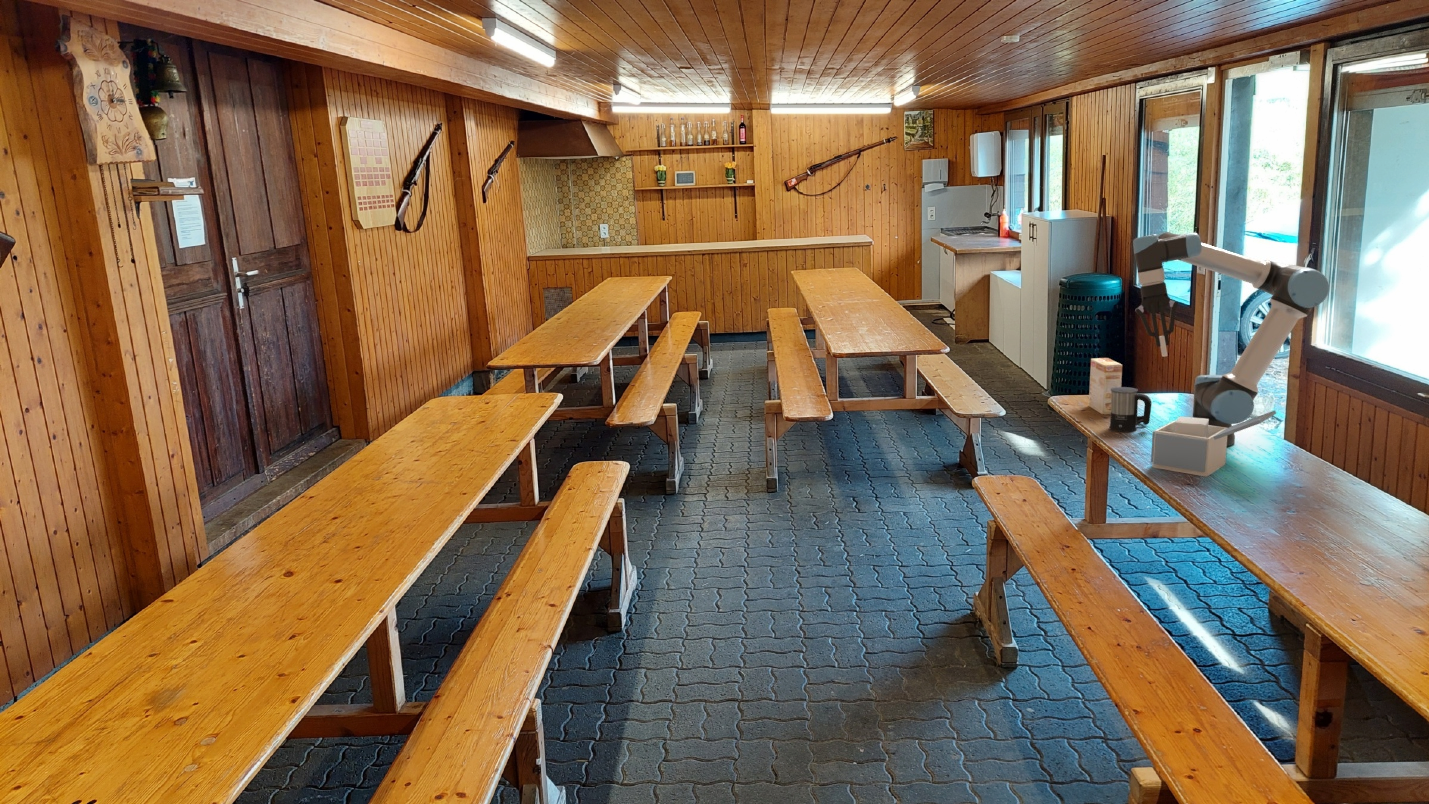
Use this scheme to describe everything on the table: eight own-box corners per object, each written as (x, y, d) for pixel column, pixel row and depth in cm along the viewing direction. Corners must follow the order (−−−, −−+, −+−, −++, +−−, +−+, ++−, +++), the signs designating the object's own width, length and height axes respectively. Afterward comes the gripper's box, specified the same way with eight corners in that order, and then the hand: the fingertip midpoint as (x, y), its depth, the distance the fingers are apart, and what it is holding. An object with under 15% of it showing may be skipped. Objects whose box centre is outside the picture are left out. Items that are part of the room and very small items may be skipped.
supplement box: (1202, 471, 306) (1206, 424, 302) (1171, 468, 310) (1174, 422, 307) (1206, 463, 313) (1209, 418, 310) (1175, 460, 318) (1178, 415, 314)
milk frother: (1109, 431, 355) (1111, 391, 351) (1105, 421, 369) (1107, 382, 366) (1152, 433, 351) (1155, 392, 347) (1146, 422, 365) (1149, 383, 362)
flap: (1213, 436, 297) (1258, 420, 287) (1230, 426, 308) (1274, 410, 298) (1214, 439, 297) (1260, 423, 287) (1231, 429, 308) (1276, 413, 298)
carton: (1148, 467, 312) (1150, 430, 309) (1170, 454, 324) (1172, 419, 321) (1205, 477, 300) (1208, 439, 297) (1226, 463, 312) (1229, 427, 309)
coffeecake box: (1120, 414, 379) (1123, 364, 374) (1101, 414, 379) (1104, 365, 374) (1106, 405, 393) (1108, 357, 389) (1088, 406, 393) (1090, 358, 389)
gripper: (1173, 279, 316) (1185, 351, 317) (1130, 287, 321) (1142, 358, 322) (1175, 279, 309) (1188, 353, 311) (1131, 288, 314) (1143, 360, 315)
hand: (1164, 356), depth 316 cm, fingers closed
